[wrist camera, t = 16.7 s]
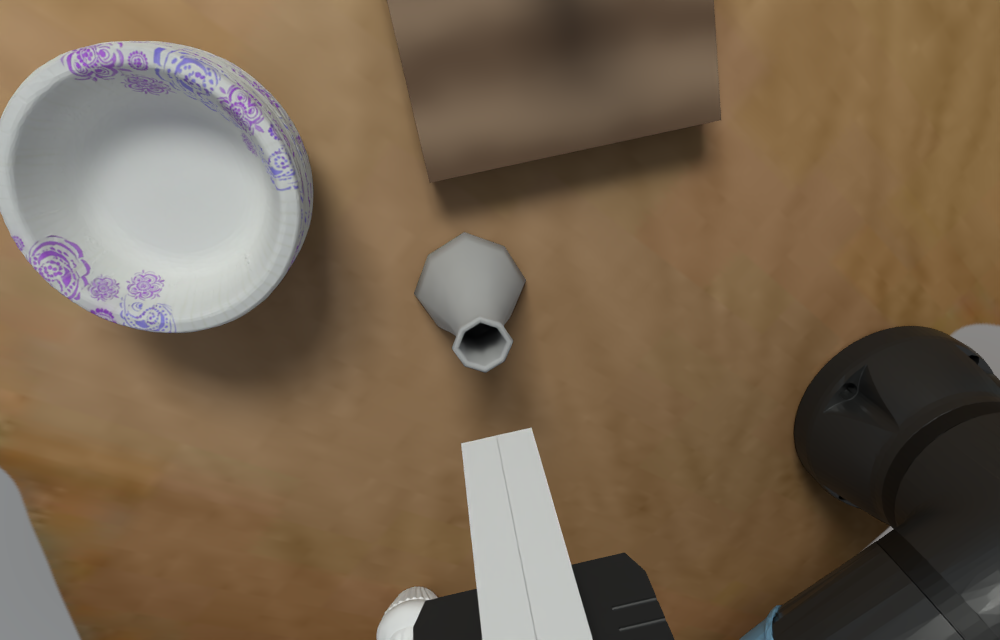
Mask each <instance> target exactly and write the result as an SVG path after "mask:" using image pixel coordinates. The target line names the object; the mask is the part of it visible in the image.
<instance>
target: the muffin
mask: <svg viewBox="0 0 1000 640" xmlns="http://www.w3.org/2000/svg"><path fill="white" fill-rule="evenodd" d="M435 598H438V597H437V596H436V595H435V594H434V593H433V592H432V591H431V590H430V589H427V588H424V587H420V586H418V587H416V586H415V587H411V588H409V589H408V588H407V589H406V590H404V591H403V592H402V593H400V594H399V596H398V597H397V598H396V599H395V601H394V602H393V603H392V604H391V606H390V607H389V608H388V609H387V611H386V612H385V615H384V616H383V617H382V620H381V622H380V624H379V626H378V629H377V640H413V626H414V624H415V622H416V620H417V618H418V615H419V613H420V611H421V609H422V607H423V604H424V602H425V601H426V600H431V599H435Z"/></svg>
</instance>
